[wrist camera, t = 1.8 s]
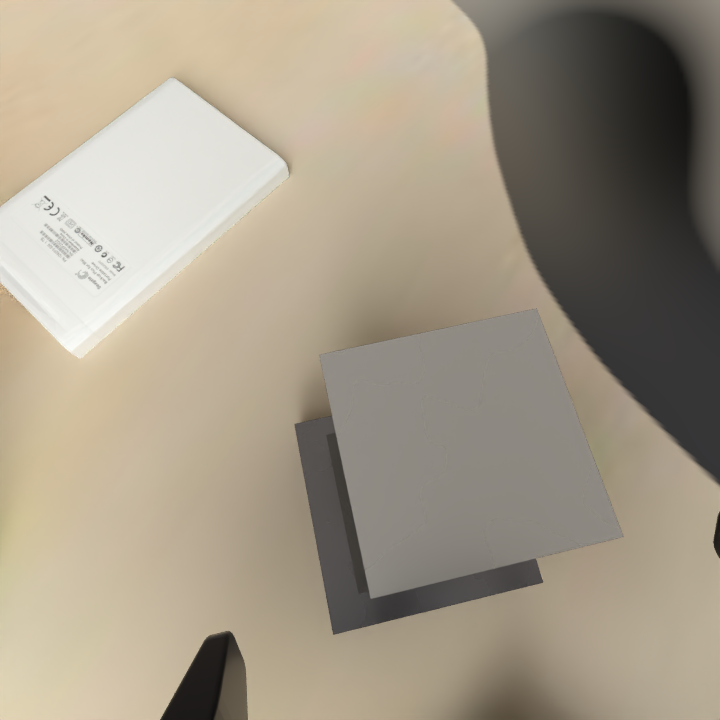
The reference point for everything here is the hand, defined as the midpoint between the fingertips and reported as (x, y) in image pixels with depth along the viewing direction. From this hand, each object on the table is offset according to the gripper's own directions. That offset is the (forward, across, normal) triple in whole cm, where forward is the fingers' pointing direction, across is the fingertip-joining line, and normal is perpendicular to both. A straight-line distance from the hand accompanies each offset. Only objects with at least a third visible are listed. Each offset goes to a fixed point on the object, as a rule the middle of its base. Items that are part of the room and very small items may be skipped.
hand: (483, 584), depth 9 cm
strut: (+8, 0, +4) cm, 9 cm away
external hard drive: (+20, +9, -5) cm, 23 cm away
